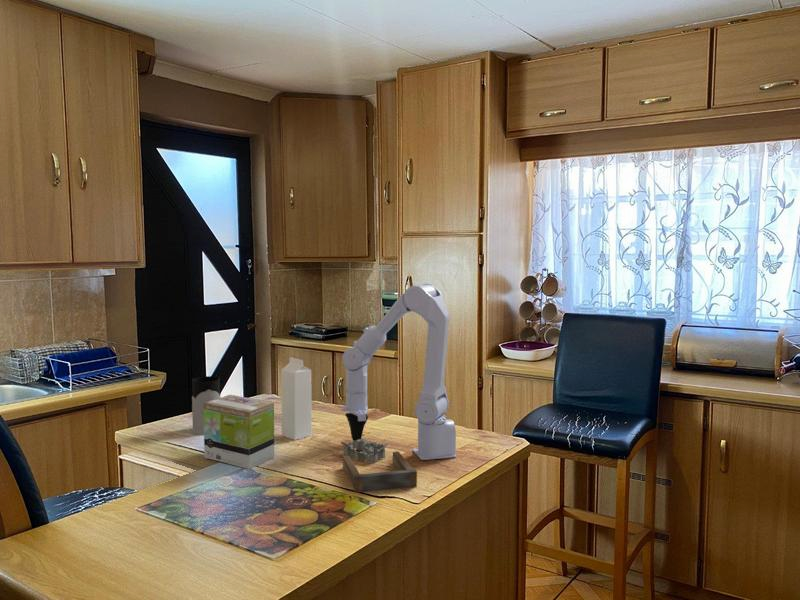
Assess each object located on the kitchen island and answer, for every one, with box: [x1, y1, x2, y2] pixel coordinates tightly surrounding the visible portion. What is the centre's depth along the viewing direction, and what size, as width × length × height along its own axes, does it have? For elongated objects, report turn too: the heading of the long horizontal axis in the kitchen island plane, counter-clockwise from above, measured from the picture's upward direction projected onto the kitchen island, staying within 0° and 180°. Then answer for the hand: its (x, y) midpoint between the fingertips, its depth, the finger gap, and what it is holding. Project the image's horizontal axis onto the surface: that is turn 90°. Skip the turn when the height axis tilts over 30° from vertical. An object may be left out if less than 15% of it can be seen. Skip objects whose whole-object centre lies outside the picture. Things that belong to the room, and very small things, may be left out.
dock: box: [342, 451, 418, 493], centre depth 149 cm, size 14×16×4 cm
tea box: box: [203, 394, 275, 470], centre depth 160 cm, size 15×10×15 cm, turn 62°
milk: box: [280, 357, 313, 441], centre depth 178 cm, size 6×6×22 cm
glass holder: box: [190, 375, 222, 436], centre depth 185 cm, size 9×14×15 cm, turn 28°
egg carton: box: [340, 438, 388, 464], centre depth 163 cm, size 11×8×4 cm
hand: (356, 439), depth 173 cm, fingers closed
